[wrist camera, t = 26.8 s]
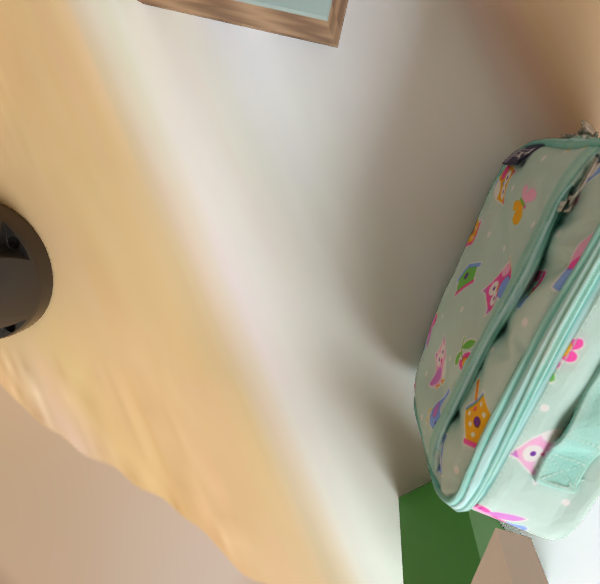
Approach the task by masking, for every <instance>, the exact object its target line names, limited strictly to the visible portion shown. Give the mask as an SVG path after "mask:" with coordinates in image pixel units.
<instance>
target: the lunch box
mask: <svg viewBox="0 0 600 584" xmlns="http://www.w3.org/2000/svg"><path fill="white" fill-rule="evenodd" d="M581 123H582V125H583V127H582V128H581V129H580V130H579V131H578V132H577V133H576V134H569V135H567V134H564V135H561V139H558V138H550V139H541V140H534V141H532V142H529V143H527V144H526V145H524V146H523V147H521V148H520V149H518V150H517V151H515V152H514V153H512V154H511V155H510V156H509V157H508V158H507V159H506V160H505V161H504V162H503V163H502V164H504V166H503V167H502V169H501V170H500V172H499V174H498V175H497V177H496V179H495V181H494V183H493V185H492V187H491V189H490V191H489V193H488V195H487V198H486V200H485V203H484V205H483V207H482V210H481V212H480V215H479V217H478V220H477V222H476V224H475V227H474V230H473V232H472V234H471V235H470V237H469V240H468V242H467V244H466V246H465V249H464V251H463V253H462V256H461V258H460V260H459V263H458V265H457V268H456V270H455V272H454V274H453V276H452V278H451V280H450V281H449V283H448V286H447V288H446V290H445V292H444V294H443V297H442V299H441V302H440V304H439V307H438V309H437V312H436V314H435V317H434V319H433V322H432V325H431V328H430V330H429V333H428V336H427V339H426V343H425V347H424V350H423V353H422V356H421V358H420V362H419V366H418V369H417V374H416V379H415V397H414V410H415V416H416V420H417V423H418V427H419V431H420V434H421V438H422V441H423V445H424V449H425V452H426V456H427V461H428V466H429V472H430V476H431V480H432V483H433V486H434V489H435V491H436V493H437V495H438V496H439V498H440V499H441V500H442V501H443V502H445V503H446V504H447V505H448V506H450V507H452V509H453V510H455V511H457V512H465V511H469V510H470V509H472V510H474V511H477V512H480V513H482V514H485V515H487V516H490V517H492V518H495V519H497V520H500V521H502V522H505V523H507V524H510V525H512V526H515V527H517V528H520V529H522V530H525V531H527V532H529V533H531V534H533V535H536V536H538V537H541V538H545V539H549V540H560V539H563V538H565V537H566V536H568V535H569V534H570V533H571V532H573V531H574V530H575V529H576V527H577V526H578V525H579V524H580V522H581V521H582V520H583V519H584V517H585V516H586V514H587V513H588V512H589V510H590V509H591V507H592V506H593V504H594V503H595V501H596V500H597V499H598V497H599V496H600V138H597V137H598V134H599V133H598V132H595V130H594V129H593V126H592V125H590V124H589V123H588V122H587V121H585V120H582V122H581Z"/></svg>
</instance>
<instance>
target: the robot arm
mask: <svg viewBox="0 0 600 584" xmlns="http://www.w3.org/2000/svg"><path fill="white" fill-rule="evenodd" d="M52 288H53V275H52V268H51V263H50V260H49V257H48V254H47V251H46V249H45V247H44V245H43V243H42V241H41V240H40V238H39V236H38V235H37V234H36V232H35V231H34V230H33V228H32V227H31V226H30V225H29V224H28V223H27V222H26V221H25V220H24V219H23V218H22V217H21V216H19V215H18V214H17V213H15V212H14V211H12V210H11V209H9V208H7V207H6V206H3V205H1V204H0V339H1V338H5V337H9V336H12V335H14V334H16V333H18V332H20V331H22V330H24V329H26V328H28V327H30V326H31V325H33V324H34V323H35V322H37V321H38V320H39V319H40V317H41V316H42V315H43V314H44V312H45V310H46V309H47V307H48V305H49V302H50V299H51V295H52ZM471 584H548V581H547V579H546V576H545V574H544V571H543V568H542V566H541V563H540V561H539V558H538V556H537V553H536V551H535V548H534V546H533V543H532V540H531V538H529V537H526V536H522V535H519V534H516V533H512V532H509V531H506V530H502V529H499V528H495V530H494V532H493V535H492V537H491V539H490V541H489V544H488V546H487V548H486V550H485V553H484V555H483V557H482V559H481V562H480V564H479V566H478V568H477V571H476V573H475V575H474V577H473V580H472V582H471Z"/></svg>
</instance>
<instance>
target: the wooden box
mask: <svg viewBox="0 0 600 584" xmlns="http://www.w3.org/2000/svg"><path fill="white" fill-rule="evenodd" d="M138 1H139V2H141V3H143V4H147V5H151V6H156V7H160V8H164V9H169V10H173V11H178V12H182V13H187V14H191V15H195V16H200V17H204V18H209V19H213V20H218V21H222V22H226V23H231V24H235V25H240V26H244V27H249V28H253V29H257V30H262V31H266V32H271V33H275V34H280V35H284V36H288V37H293V38H297V39H302V40H306V41H311V42H315V43H319V44H324V45H328V46H333V47H338V43H339V38H340V34H341V30H342V25H343V21H344V16H345V12H346V8H347V3H348V0H332V4H331V9H330V13H329V18H328V21H325V20H320V19H316V18H311V17H307V16H302V15H298V14H293V13H289V12H284V11H280V10H275V9H271V8H266V7H262V6H257V5H253V4H248V3H244V2H239V1H235V0H138Z"/></svg>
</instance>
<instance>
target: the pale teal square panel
mask: <svg viewBox="0 0 600 584" xmlns="http://www.w3.org/2000/svg"><path fill="white" fill-rule="evenodd" d="M235 1H239V2H244V3H248V4H253V5H257V6H262V7H266V8H271V9H275V10H280V11H284V12H289V13H293V14H298V15H302V16H307V17H311V18H316V19H320V20H325V21H328V18H329V13H330V9H331V4H332V0H235Z"/></svg>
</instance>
